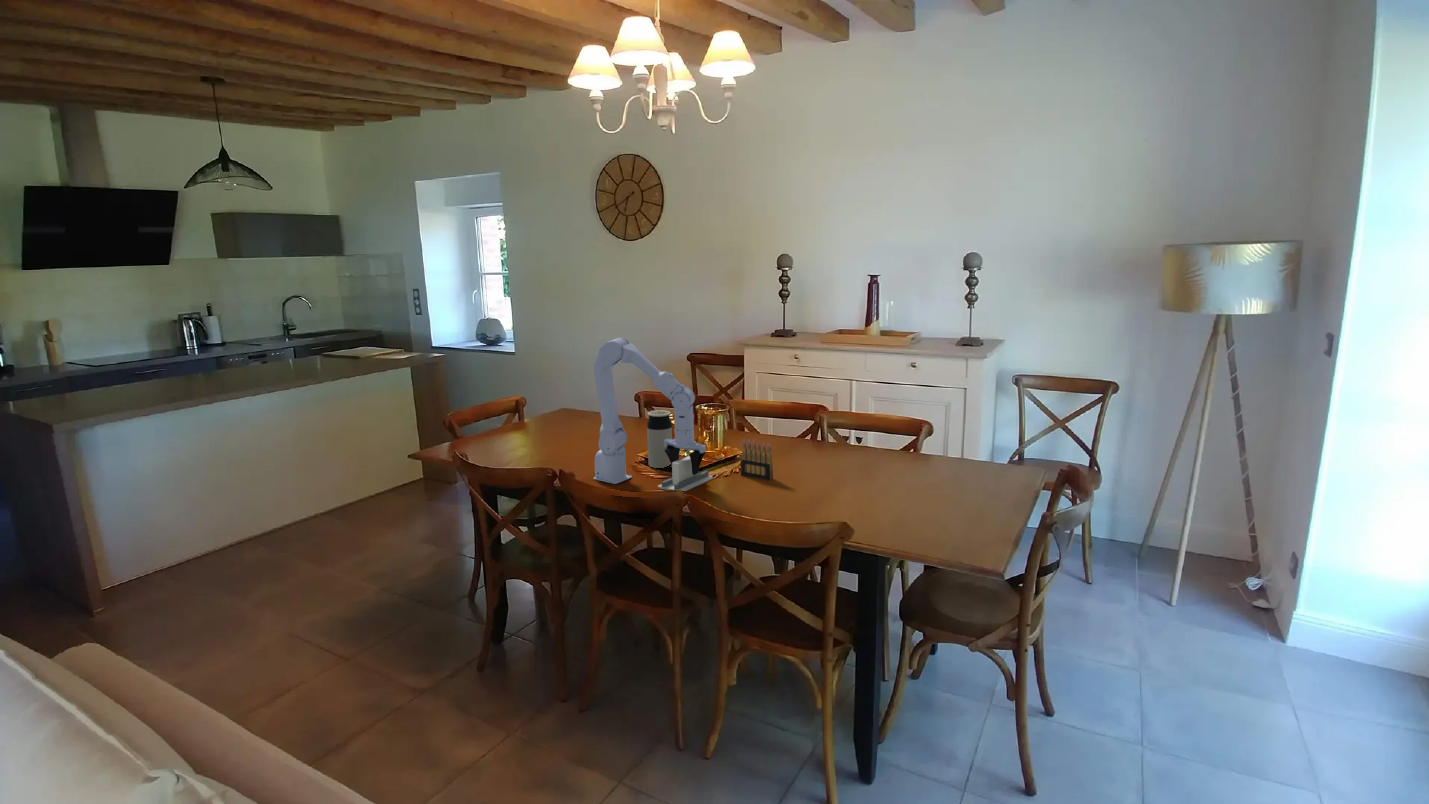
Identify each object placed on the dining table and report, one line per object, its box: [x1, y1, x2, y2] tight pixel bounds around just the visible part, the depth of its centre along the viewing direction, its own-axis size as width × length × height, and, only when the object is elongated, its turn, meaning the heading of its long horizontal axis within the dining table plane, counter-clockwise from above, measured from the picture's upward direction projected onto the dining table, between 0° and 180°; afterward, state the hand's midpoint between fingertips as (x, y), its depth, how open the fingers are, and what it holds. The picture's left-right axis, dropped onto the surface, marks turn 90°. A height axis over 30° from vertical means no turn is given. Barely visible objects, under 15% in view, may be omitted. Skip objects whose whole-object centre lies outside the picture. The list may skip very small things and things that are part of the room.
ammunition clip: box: [740, 437, 774, 481], centre depth 227 cm, size 11×2×12 cm, turn 56°
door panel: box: [671, 455, 700, 485], centre depth 222 cm, size 2×10×7 cm, turn 145°
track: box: [657, 470, 714, 492], centre depth 223 cm, size 9×16×2 cm, turn 145°
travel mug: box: [646, 409, 673, 469], centre depth 239 cm, size 8×8×18 cm
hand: (685, 471), depth 222 cm, fingers open, 7 cm apart
